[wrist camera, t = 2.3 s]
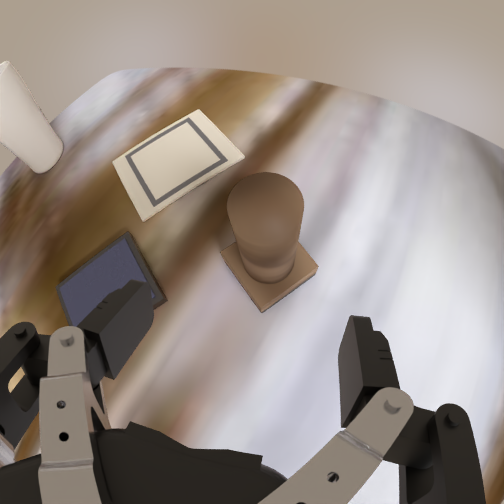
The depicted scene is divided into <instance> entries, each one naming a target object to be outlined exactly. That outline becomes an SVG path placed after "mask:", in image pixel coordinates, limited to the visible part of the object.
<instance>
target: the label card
mask: <svg viewBox="0 0 504 504" xmlns="http://www.w3.org/2000/svg"><path fill="white" fill-rule="evenodd" d="M244 158H245V156H244V155H243V154H242V153H241V152H240V151H239V150H238V149H237V148H236V147H235V145H234V144H233V143H232V142H231V141H230V140H229V139H228V138H227V137H226V136H225V135H224V134H223V133H222V132H221V131H220V130H219V129H218V128H217V127H216V126H215V125H214V124H213V123H212V122H211V121H210V120H209V119H208V118H207V117H206V116H205V115H204V114H203V113H202V112H201V111H200V110H199V109H198V110H196V111H194V112H193V113H191V114H189V115H187V116H185V117H183V118H182V119H180V120H178V121H176V122H174V123H173V124H171V125H169V126H168V127H166V128H164V129H162V130H161V131H159V132H157V133H156V134H154V135H152V136H151V137H149V138H148V139H146V140H144V141H143V142H141V143H140V144H138V145H136V146H135V147H133V148H132V149H130V150H129V151H127V152H126V153H124V154H123V155H121V156H120V157H118V158H117V159H115V160H114V161H112V163H113V165H114V167H115V169H116V171H117V173H118V175H119V177H120V179H121V181H122V183H123V185H124V187H125V189H126V191H127V193H128V195H129V197H130V199H131V200H132V202H133V204H134V206H135V208H136V210H137V212H138V214H139V216H140V217H141V219H142V221H143V222H144V221H146V220H147V219H149V218H150V217H152V216H153V215H155V214H156V213H158V212H159V211H161V210H162V209H164V208H165V207H167V206H168V205H170V204H171V203H173V202H174V201H176V200H177V199H179V198H180V197H182V196H183V195H185V194H186V193H188V192H190V191H191V190H193V189H194V188H196V187H197V186H199V185H201V184H202V183H204V182H206V181H207V180H209V179H210V178H212V177H214V176H215V175H217V174H219V173H220V172H222V171H224V170H225V169H227V168H229V167H230V166H232V165H234V164H235V163H237V162H239V161H241V160H242V159H244Z"/></svg>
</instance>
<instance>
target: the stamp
mask: <svg viewBox="0 0 504 504" xmlns="http://www.w3.org/2000/svg"><path fill="white" fill-rule="evenodd" d="M303 211H304V200H303V196H302V194H301V191H300V190H299V188H298V187H297V186H296V184H294V183H293V182H292V181H291V180H290V179H288V178H286V177H285V176H282V175H279V174H276V173H269V172H263V173H256V174H252V175H250V176H247V177H245V178H244V179H242V180H241V181H239V182H238V183H237V184H236V185H235V186H234V187H233V189H232V190H231V192H230V194H229V197H228V200H227V212H228V216H229V219H230V222H231V226H232V229H233V232H234V235H235V238H236V242H235V243H233V244H232V245H230V246H229V247H227V248H226V249H224V250H223V251H221V252H220V253H221V255H222V257H223V259H224V261H225V263H226V264H227V266H228V267H229V268H230V270H231V271H232V273H233V274H234V275H235V277H236V278H237V280H238V281H239V283H240V284H241V285H242V287H243V288H244V290H245V291H246V292H247V294H248V295H249V297H250V298H251V299H252V301H253V302H254V303H255V305H256V306H257V308H258V309H259V310H260V312H261V313H263V312H264V311H266V310H267V309H269V308H270V307H272V306H273V305H274V304H276V303H277V302H279V301H280V300H281V299H283V298H284V297H286V296H287V295H288V294H290V293H291V292H292V291H294V290H295V289H297V288H298V287H299V286H301V285H302V284H303V283H305V282H306V281H307V280H309V279H310V278H312V277H313V276H314V275H315V273H316V271H317V269H318V267H319V266H318V265H317V264H316V263H315V261H314V260H313V259H312V258H311V256H310V255H309V254H308V253H307V251H306V250H305V249H304V248H303V247H302V245H301V244H300V243H299V242H298V240H299V234H300V228H301V223H302V217H303Z"/></svg>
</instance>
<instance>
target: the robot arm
mask: <svg viewBox="0 0 504 504" xmlns="http://www.w3.org/2000/svg"><path fill="white" fill-rule="evenodd" d="M153 318H154V311H153V304H152V296H151V287H150V284H149V283H148V282H143V281H138V280H133V279H131V280H130V281H129V282H128V283H127V284H126V285H125V286H124V287H123V288H122V289H120V288H119V289H117V290H115V291H113V292H111V293H109V294H108V295H107V296H106V297H105V298H104V299H103V300H102V302H100V303H99V304H98V305H97V306H96V308H94V309H93V310H92V311H91V312H90V313H89V314H88V315H87V316H86V317H85V318H84V319H83V320H82V321H81V322H80V323H79V324H78V325H77V326H76V327H74V326H66V327H62V328H60V329H58V330H56V331H55V332H54V333H53V334H52V336H51V335H41V334H38V333H37V331H36V328H35V326H34V325H33V324H32V323H30V322H21V323H18V324H16V325H14V326H12V327H11V328H10V329H9V330H8V331H7V332H6V333H5V334H4V335H3V336H2V337H1V338H0V504H347V503H348V502H349V501H350V500H351V499H352V498H353V496H354V495H355V494H356V493H357V492H358V491H359V489H360V488H361V487H362V486H363V485H364V484H365V482H366V481H367V480H368V479H369V477H370V476H371V475H372V474H373V472H374V471H375V470H376V468H377V467H378V466H379V464H380V463H381V462H382V460H385V461H388V462H392V463H396V464H399V504H486V501H485V493H484V486H483V480H482V474H481V468H480V463H479V458H478V453H477V448H476V444H475V440H474V436H473V431H472V428H471V424H470V420H469V417H468V415H467V413H466V412H465V410H464V409H462V408H461V407H460V406H458V405H455V404H450V403H449V404H444V405H442V406H440V407H439V408H438V409H437V411H436V412H434V411H430V410H426V409H422V408H419V407H416V406H414V405H413V401H412V399H411V398H410V396H409V395H408V394H407V393H405V392H404V391H402V390H400V386H399V382H398V377H397V373H396V369H395V365H394V361H393V360H392V359H393V358H392V354H391V352H390V351H391V350H390V347H389V343H388V340H387V339H386V338H385V336H384V335H383V334H382V333H381V331H373V327H372V323H371V319H370V317H363V316H354V315H351V316H350V317H349V320H348V323H347V326H346V329H345V332H344V335H343V339H342V342H341V345H340V348H339V354H338V366H339V383H340V406H341V428H346V429H345V430H344V431H340V432H338V433H337V434H336V435H335V436H334V437H333V438H332V439H331V440H330V441H329V442H328V443H327V444H326V445H325V446H324V447H323V448H322V449H321V450H320V451H319V452H318V453H317V454H316V455H315V456H314V457H313V458H312V459H311V460H310V461H308V462H307V463H306V464H305V465H304V466H303V467H302V468H301V469H300V470H298V471H297V472H296V473H295V474H294V475H293V476H292V477H290V478H289V479H287V478H286V477H284V476H283V475H282V474H280V473H279V472H277V471H276V470H274V469H272V468H270V467H268V466H265V465H263V464H261V462H262V457H263V456H261V455H255V454H249V453H243V452H238V451H233V450H228V449H191V448H188V447H186V446H184V445H182V444H180V443H179V442H177V441H175V440H173V439H172V438H170V437H168V436H166V435H165V434H163V433H161V432H159V431H156V430H153V429H150V428H147V427H145V426H142V425H139V424H136V423H133V422H131V421H130V423H129V424H128V426H127V428H126V429H111V426H110V423H109V420H108V415H107V410H106V405H105V399H104V393H103V387H102V383H101V379H102V378H103V377H104V376H105V377H108V378H111V379H113V380H114V379H115V378H116V376H117V375H118V373H119V372H120V371H121V369H122V368H123V366H124V365H125V363H126V362H127V360H128V359H129V357H130V356H131V355H132V353H133V352H134V350H135V349H136V347H137V346H138V344H139V343H140V342H141V340H142V339H143V337H144V336H145V334H146V333H147V332H148V330H149V329H150V327H151V325H152V323H153ZM20 367H22V369H23V371H24V373H25V375H24V376H23V378H22V379H21V380H20V381H19V383H18V384H17V385H16V387H15V388H14V389H13V391H12V392H11V393H10V392H9V390H8V383H9V381H10V379H11V378H12V377H13V376H14V374H15V373H16V372H17V371H18V369H19V368H20ZM38 412H39V423H40V445H41V454H38V455H35V456H32V457H29V458H26V459H23V460H20V461H17V462H16V460H15V459H14V450H15V448H16V446H17V445H18V443H19V441H20V440H21V438H22V437H23V435H24V433H25V432H26V430H27V429H28V427H29V426H30V424H31V422H32V421H33V419H34V418H35V416H36V415H37V413H38Z"/></svg>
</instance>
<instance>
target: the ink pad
mask: <svg viewBox="0 0 504 504" xmlns="http://www.w3.org/2000/svg"><path fill="white" fill-rule="evenodd" d="M131 279H133V280H138V281H143V282H148V283H149V284H150V287H151V296H152V304H153V310H155V309H156V308H157V307H159V306H160V305H162V304H163V303H165V302H166V301H168V300H167V299H166V297H165V295H164V293H163V292H162V290H161V288H160V286H159V285H158V283H157V281H156V279H155V278H154V276H153V274H152V272H151V270H150V268H149V267H148V265H147V263H146V261H145V259H144V257H143V255H142V254H141V252H140V250H139V248H138V246H137V244H136V242H135V240H134V238H133V236H132V235H131V234H130V233H129V232H126V233H125V234H124V235H122V236H121V237H119V238H118V239H117V240H115V241H114V242H113V243H111V244H110V245H109V246H107V247H106V248H105V249H103V250H102V251H101V252H99V253H98V254H97V255H95V256H94V257H93V258H91V259H90V260H89V261H87V262H86V263H85V264H84V265H82V266H81V267H80V268H78V269H77V270H76V271H75V272H73V273H72V274H71V275H70V276H68V277H67V278H66V279H65V280H63V281H62V282H61V283H60V284H59V285H57V286H56V290H57V293H58V296H59V299H60V302H61V305H62V307H63V310H64V313H65V316H66V318H67V321H68V324H69V326H74V327H76V326H77V325H78V324H79V323H80V322H81V321H82V320H83V319H84V318H85V317H86V316H87V315H88V314H89V313H90V312H91V311H92V310H93V309H94V308H96V306H97V305H98V304H99V303H100V302H102V300H103V299H104V298H105V297H106V296H107V295H108V294H109V293H111V292H113V291H115V290H117V289H119V288H120V289H122V288H123V287H124V286H125V285H126V284H127V283H128V282H129V281H130V280H131Z"/></svg>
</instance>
